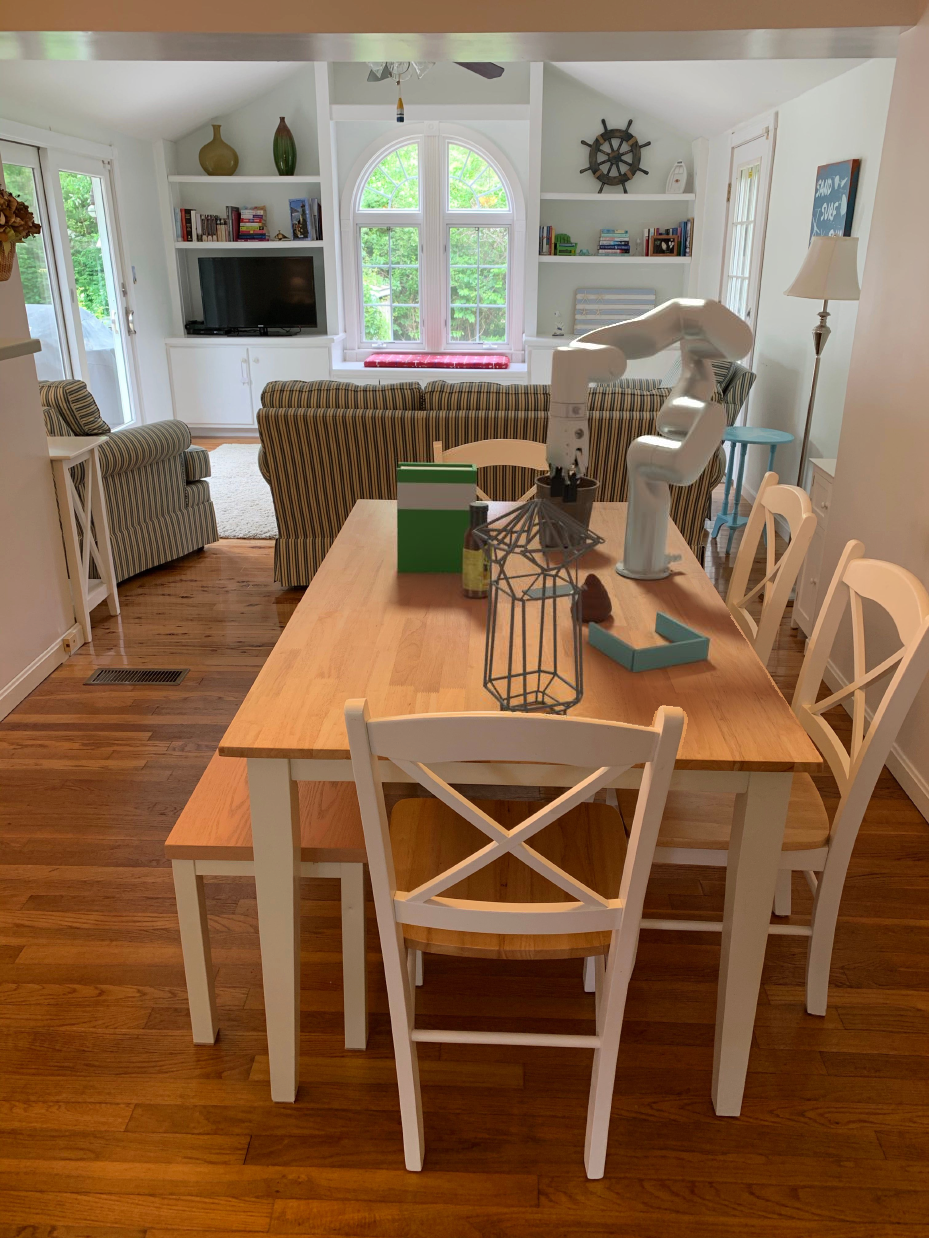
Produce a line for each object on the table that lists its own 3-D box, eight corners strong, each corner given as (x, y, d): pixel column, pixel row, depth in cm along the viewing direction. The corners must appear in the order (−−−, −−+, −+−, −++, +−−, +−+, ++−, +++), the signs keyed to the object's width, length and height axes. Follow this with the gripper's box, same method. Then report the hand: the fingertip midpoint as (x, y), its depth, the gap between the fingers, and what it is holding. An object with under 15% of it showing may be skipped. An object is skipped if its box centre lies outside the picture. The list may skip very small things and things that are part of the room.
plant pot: (605, 541, 243) (610, 479, 237) (578, 555, 230) (582, 491, 224) (549, 530, 251) (553, 471, 245) (520, 544, 238) (523, 482, 232)
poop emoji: (605, 626, 185) (608, 582, 182) (563, 620, 188) (566, 576, 185) (615, 610, 194) (619, 567, 191) (575, 605, 197) (578, 562, 194)
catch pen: (658, 630, 184) (660, 611, 182) (707, 659, 171) (710, 638, 169) (587, 642, 177) (589, 622, 176) (633, 672, 164) (635, 651, 163)
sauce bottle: (488, 600, 198) (491, 508, 191) (459, 597, 199) (461, 506, 192) (493, 590, 204) (496, 501, 197) (465, 588, 205) (467, 499, 198)
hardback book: (397, 572, 214) (396, 469, 206) (398, 563, 221) (398, 462, 213) (474, 573, 215) (476, 470, 206) (473, 564, 222) (475, 463, 213)
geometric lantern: (510, 747, 138) (513, 516, 126) (467, 705, 152) (466, 493, 140) (601, 728, 144) (613, 505, 132) (552, 689, 158) (559, 484, 146)
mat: (569, 585, 209) (569, 583, 209) (583, 593, 204) (583, 592, 203) (521, 591, 204) (521, 590, 204) (535, 600, 199) (535, 598, 199)
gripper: (606, 416, 182) (600, 507, 189) (563, 404, 197) (558, 489, 203) (573, 417, 179) (568, 510, 186) (531, 405, 194) (527, 492, 200)
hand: (563, 498), depth 194 cm, fingers open, 4 cm apart
